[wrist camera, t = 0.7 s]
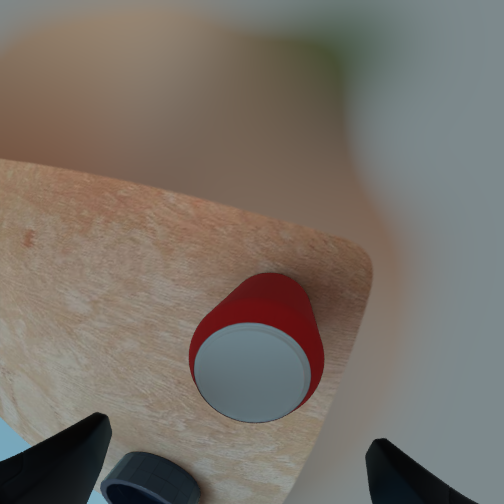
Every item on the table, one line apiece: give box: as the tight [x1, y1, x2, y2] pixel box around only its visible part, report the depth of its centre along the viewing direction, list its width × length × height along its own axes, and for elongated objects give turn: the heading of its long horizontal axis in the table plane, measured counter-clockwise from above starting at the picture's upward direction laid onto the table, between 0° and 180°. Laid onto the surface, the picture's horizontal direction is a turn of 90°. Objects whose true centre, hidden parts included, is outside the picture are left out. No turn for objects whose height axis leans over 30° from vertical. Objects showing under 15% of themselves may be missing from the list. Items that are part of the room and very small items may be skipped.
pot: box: [100, 452, 201, 504], centre depth 23 cm, size 11×11×6 cm
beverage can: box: [189, 273, 324, 423], centre depth 17 cm, size 6×6×12 cm
